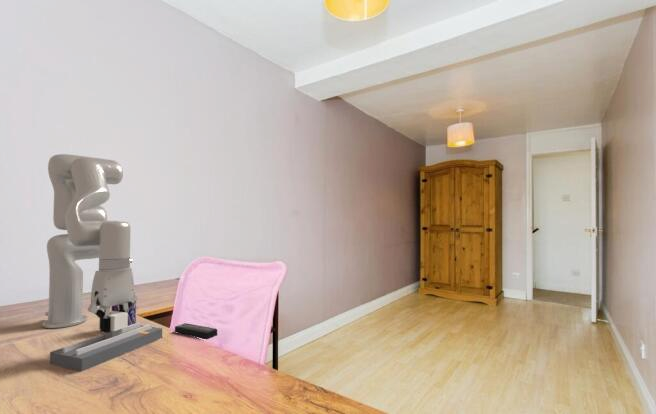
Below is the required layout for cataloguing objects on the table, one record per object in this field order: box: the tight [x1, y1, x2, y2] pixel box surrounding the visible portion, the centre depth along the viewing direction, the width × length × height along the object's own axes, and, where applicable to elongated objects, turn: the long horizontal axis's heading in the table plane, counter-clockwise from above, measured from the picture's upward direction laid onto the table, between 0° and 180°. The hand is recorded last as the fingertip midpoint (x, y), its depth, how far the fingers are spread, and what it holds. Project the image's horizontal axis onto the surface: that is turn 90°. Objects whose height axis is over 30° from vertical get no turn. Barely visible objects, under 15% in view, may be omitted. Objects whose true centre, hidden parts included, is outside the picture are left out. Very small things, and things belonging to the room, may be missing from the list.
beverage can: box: [110, 291, 137, 326], centre depth 112 cm, size 7×7×12 cm
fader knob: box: [98, 310, 128, 340], centre depth 95 cm, size 6×4×7 cm, turn 70°
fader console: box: [49, 322, 163, 372], centre depth 95 cm, size 12×24×4 cm, turn 160°
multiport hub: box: [174, 322, 218, 340], centre depth 108 cm, size 4×14×2 cm, turn 64°
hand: (113, 328), depth 95 cm, fingers closed on fader knob, 4 cm apart
